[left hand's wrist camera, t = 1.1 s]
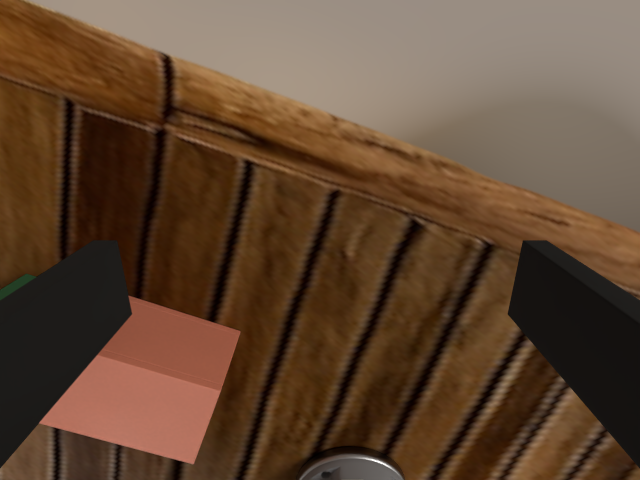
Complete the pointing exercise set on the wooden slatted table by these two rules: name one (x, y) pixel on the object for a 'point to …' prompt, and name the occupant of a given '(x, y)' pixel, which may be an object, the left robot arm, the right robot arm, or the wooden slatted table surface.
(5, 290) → the drawer
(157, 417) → the cabinet
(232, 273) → the wooden slatted table surface
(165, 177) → the wooden slatted table surface
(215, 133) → the wooden slatted table surface
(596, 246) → the wooden slatted table surface
